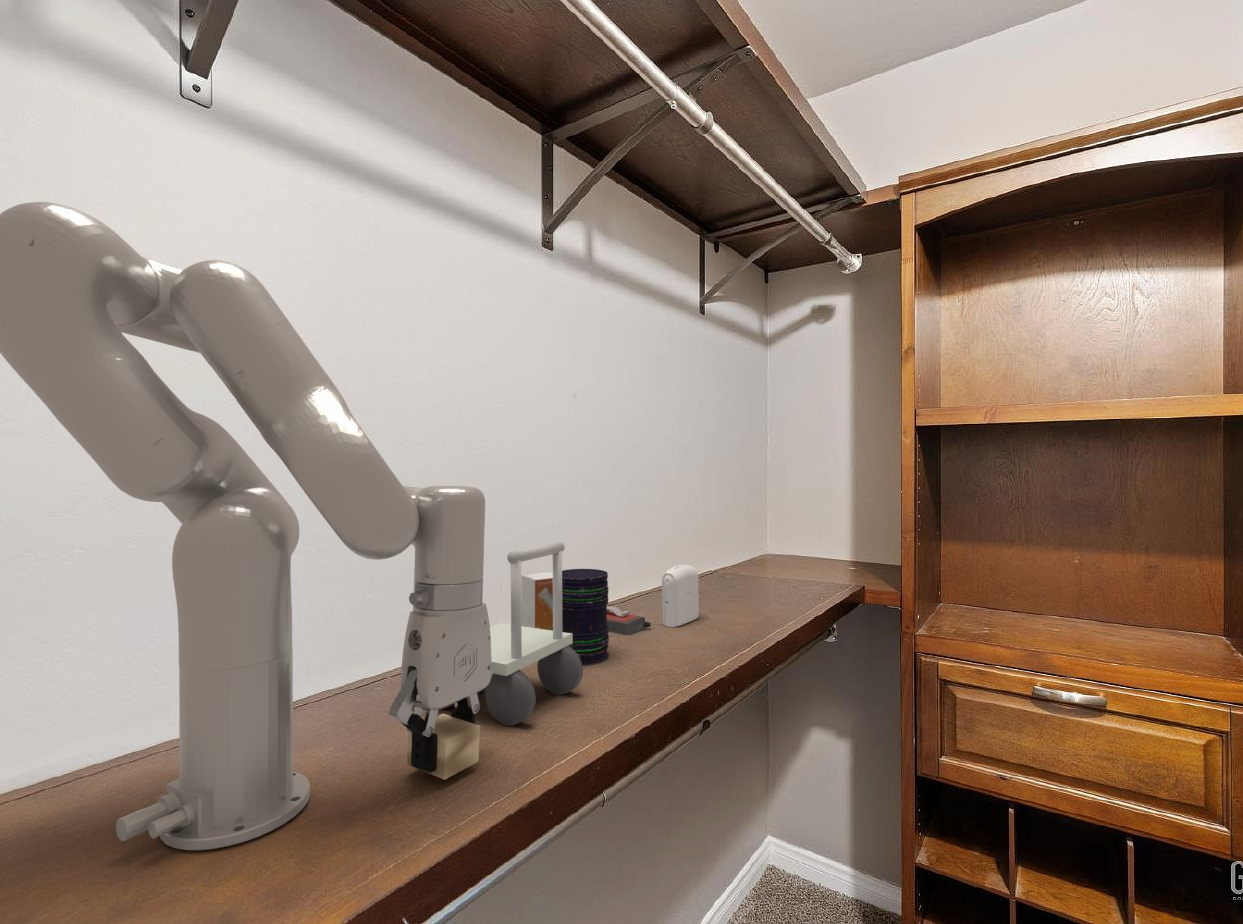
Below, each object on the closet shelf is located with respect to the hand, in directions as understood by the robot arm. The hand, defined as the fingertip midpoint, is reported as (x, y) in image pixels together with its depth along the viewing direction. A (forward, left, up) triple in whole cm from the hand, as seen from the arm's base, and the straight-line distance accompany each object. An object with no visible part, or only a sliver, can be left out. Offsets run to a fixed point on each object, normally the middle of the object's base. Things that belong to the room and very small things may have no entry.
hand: (443, 755), depth 68 cm
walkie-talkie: (+63, +14, -2) cm, 65 cm away
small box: (+47, +18, -2) cm, 50 cm away
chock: (0, 0, -1) cm, 1 cm away
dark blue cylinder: (+42, +7, -2) cm, 42 cm away
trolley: (+20, +7, -2) cm, 21 cm away
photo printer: (+72, 0, -2) cm, 72 cm away
